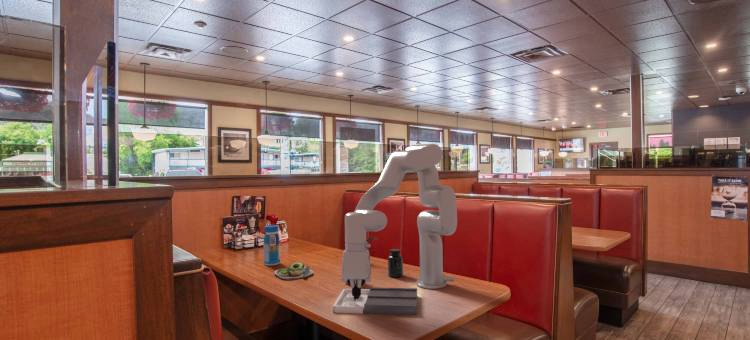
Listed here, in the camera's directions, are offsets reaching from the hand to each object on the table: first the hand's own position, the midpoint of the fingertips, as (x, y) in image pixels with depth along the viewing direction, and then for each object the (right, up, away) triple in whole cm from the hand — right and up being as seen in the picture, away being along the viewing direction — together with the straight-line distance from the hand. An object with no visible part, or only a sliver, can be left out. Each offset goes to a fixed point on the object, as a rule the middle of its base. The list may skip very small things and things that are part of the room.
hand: (356, 297), depth 140 cm
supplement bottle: (+16, -3, +39) cm, 43 cm away
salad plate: (-32, -4, +45) cm, 55 cm away
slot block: (+13, -3, +3) cm, 14 cm away
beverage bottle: (-47, -4, +65) cm, 80 cm away
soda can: (-3, -4, +30) cm, 30 cm away
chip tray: (-2, -4, +5) cm, 6 cm away
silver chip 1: (-1, 0, +9) cm, 9 cm away
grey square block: (-2, -1, 0) cm, 2 cm away
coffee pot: (-1, -3, +64) cm, 65 cm away
